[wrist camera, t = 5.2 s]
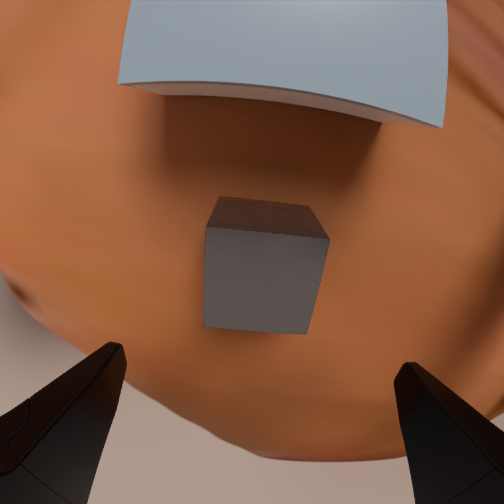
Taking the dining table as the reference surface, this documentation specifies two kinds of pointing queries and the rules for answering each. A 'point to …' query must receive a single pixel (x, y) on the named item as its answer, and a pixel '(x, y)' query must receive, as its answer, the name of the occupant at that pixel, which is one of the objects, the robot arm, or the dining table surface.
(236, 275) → the block
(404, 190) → the dining table surface
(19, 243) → the dining table surface
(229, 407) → the dining table surface
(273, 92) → the storage box
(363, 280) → the dining table surface
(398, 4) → the box lid
